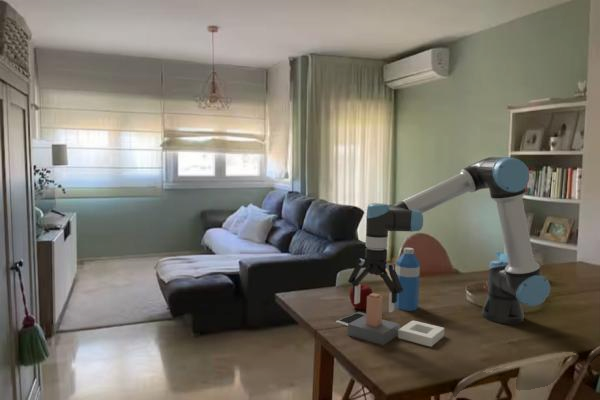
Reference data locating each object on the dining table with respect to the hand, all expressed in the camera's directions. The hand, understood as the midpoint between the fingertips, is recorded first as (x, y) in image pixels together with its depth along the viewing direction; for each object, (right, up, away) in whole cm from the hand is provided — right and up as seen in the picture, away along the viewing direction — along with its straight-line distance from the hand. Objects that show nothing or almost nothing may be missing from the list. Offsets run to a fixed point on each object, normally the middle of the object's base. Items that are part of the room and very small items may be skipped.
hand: (373, 307), depth 165 cm
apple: (-1, -7, +29) cm, 30 cm away
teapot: (+87, -3, +85) cm, 122 cm away
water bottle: (+19, -7, +32) cm, 38 cm away
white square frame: (+17, -10, 0) cm, 20 cm away
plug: (0, -10, +1) cm, 10 cm away
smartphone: (-5, -9, +16) cm, 19 cm away
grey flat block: (0, -10, +1) cm, 10 cm away
